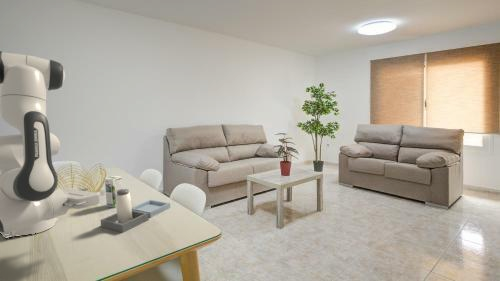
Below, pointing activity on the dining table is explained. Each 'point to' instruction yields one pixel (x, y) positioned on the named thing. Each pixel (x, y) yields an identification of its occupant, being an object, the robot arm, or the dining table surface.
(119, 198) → the canister
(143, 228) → the dining table surface
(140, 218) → the frame
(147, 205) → the tray
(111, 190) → the syrup box
